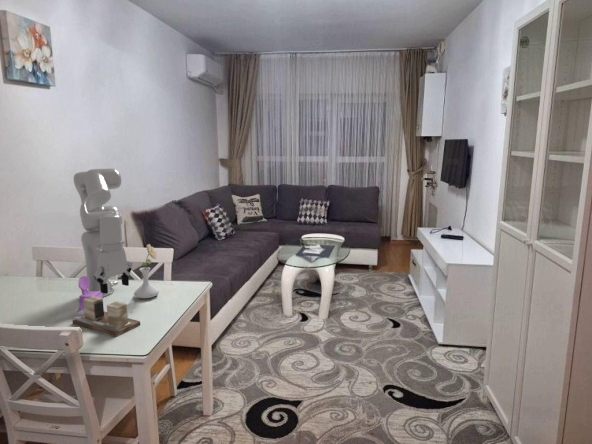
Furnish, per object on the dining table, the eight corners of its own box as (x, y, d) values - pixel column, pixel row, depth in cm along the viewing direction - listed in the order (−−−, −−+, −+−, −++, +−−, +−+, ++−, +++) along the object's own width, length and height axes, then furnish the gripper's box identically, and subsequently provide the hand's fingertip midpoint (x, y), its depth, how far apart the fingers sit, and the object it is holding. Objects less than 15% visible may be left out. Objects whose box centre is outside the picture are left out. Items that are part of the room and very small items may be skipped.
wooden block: (118, 327, 160) (117, 307, 158) (107, 323, 163) (105, 304, 161) (128, 323, 164) (126, 304, 162) (116, 319, 166) (115, 301, 165)
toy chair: (96, 313, 177) (93, 280, 174) (75, 313, 177) (72, 280, 174) (105, 306, 185) (102, 274, 182) (86, 305, 185) (83, 274, 182)
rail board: (98, 313, 177) (97, 292, 175) (140, 324, 166) (138, 302, 164) (72, 323, 167) (70, 301, 165) (115, 336, 155) (113, 313, 154)
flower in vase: (148, 302, 190) (145, 249, 185) (128, 298, 194) (125, 247, 189) (166, 292, 202) (163, 243, 198) (147, 289, 206) (143, 241, 201)
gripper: (123, 240, 166) (126, 280, 170) (85, 250, 151) (89, 294, 155) (137, 242, 163) (139, 283, 166) (98, 253, 148) (102, 298, 151)
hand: (115, 288), depth 160 cm, fingers open, 9 cm apart
